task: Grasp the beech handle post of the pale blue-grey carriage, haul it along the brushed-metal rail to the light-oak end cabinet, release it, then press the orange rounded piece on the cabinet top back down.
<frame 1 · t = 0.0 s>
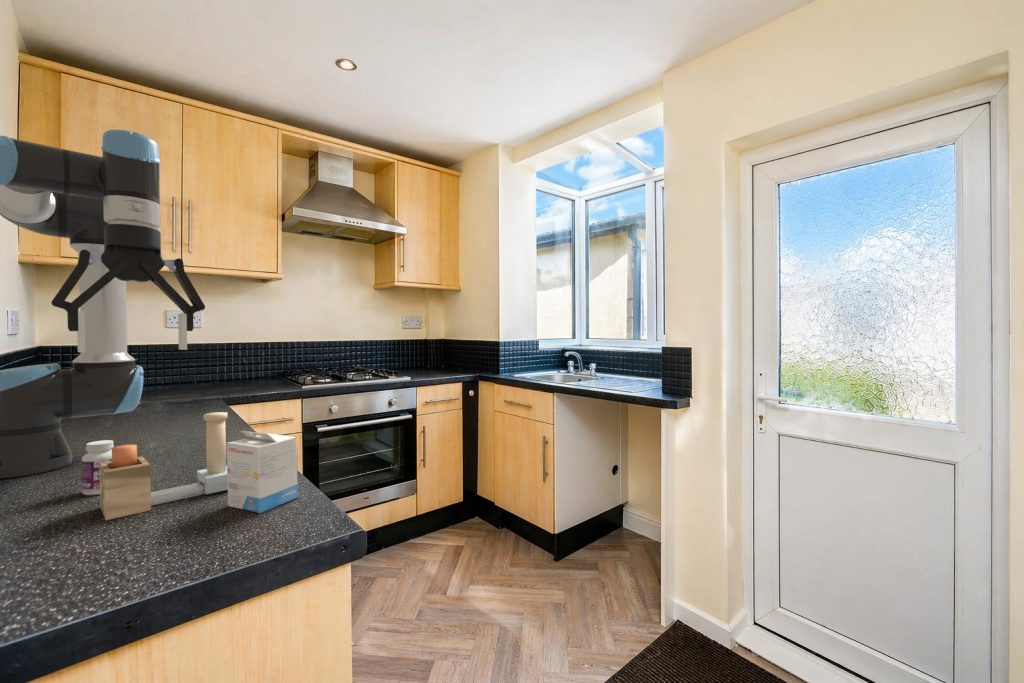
hand: (135, 350, 80), 28 cm above the counter, fingers open, 13 cm apart
orange rounded piece: (124, 456, 81), point 9 cm above the counter, slide at 0.0 cm
carriage: (216, 450, 92), point 8 cm above the counter, slide at 0.0 cm
rail: (192, 494, 89), on the counter
pill bottle: (100, 492, 91), on the counter
cabinet: (125, 508, 82), on the counter
ink box: (263, 503, 85), on the counter
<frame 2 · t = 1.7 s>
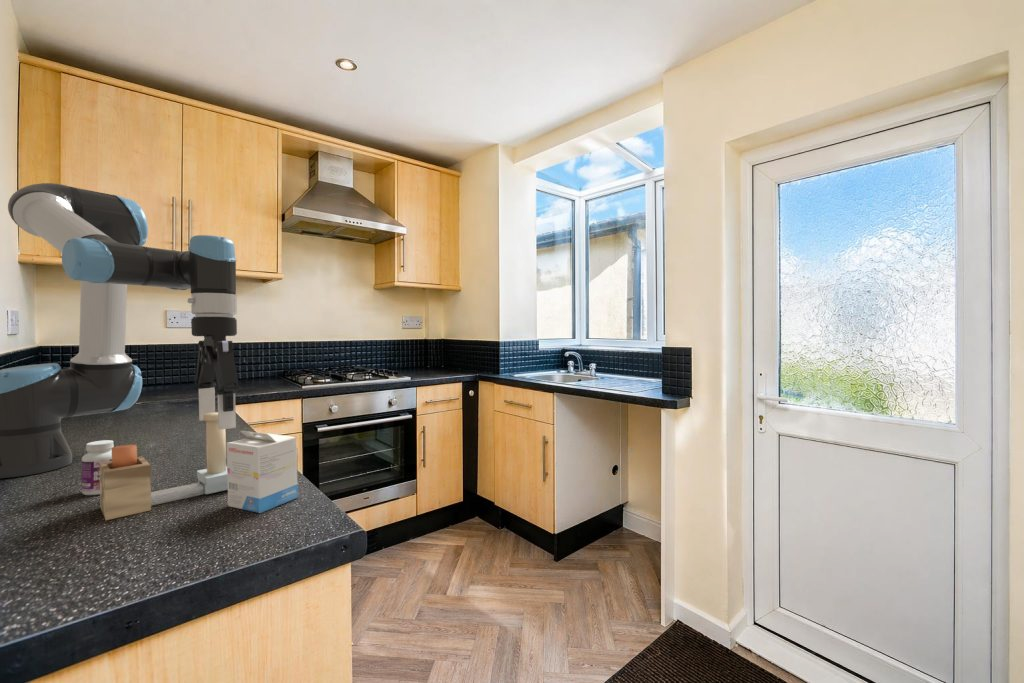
hand: (216, 424, 91), 13 cm above the counter, fingers open, 13 cm apart
nothing on the counter moved.
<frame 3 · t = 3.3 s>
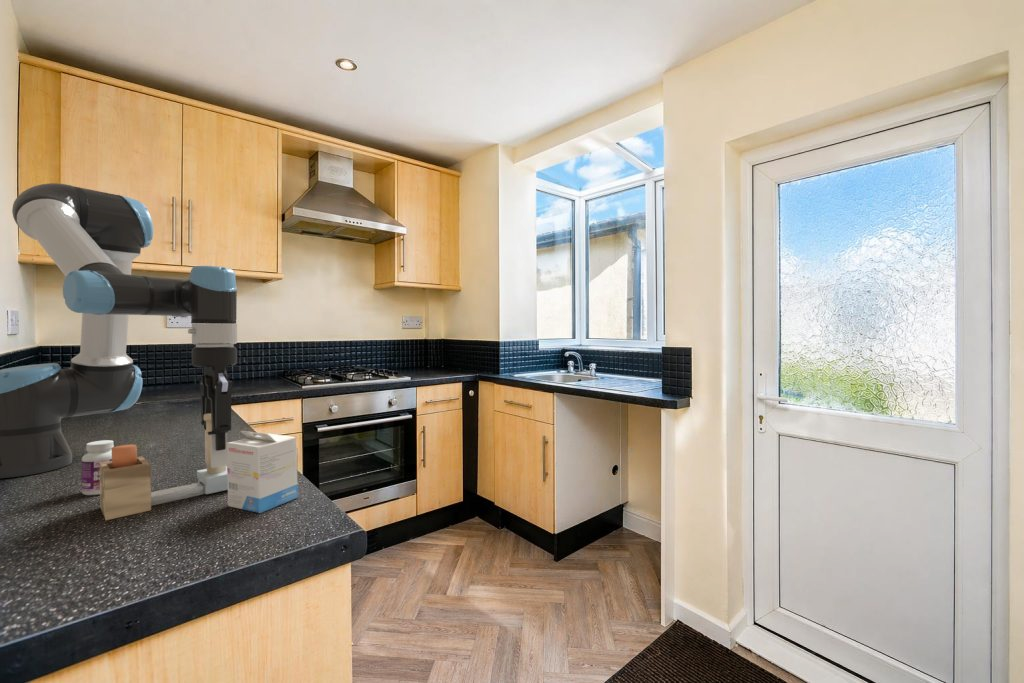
hand: (216, 463, 92), 5 cm above the counter, fingers closed on carriage, 3 cm apart
carriage: (216, 450, 92), point 8 cm above the counter, slide at 0.0 cm, touching gripper
everything else where it was.
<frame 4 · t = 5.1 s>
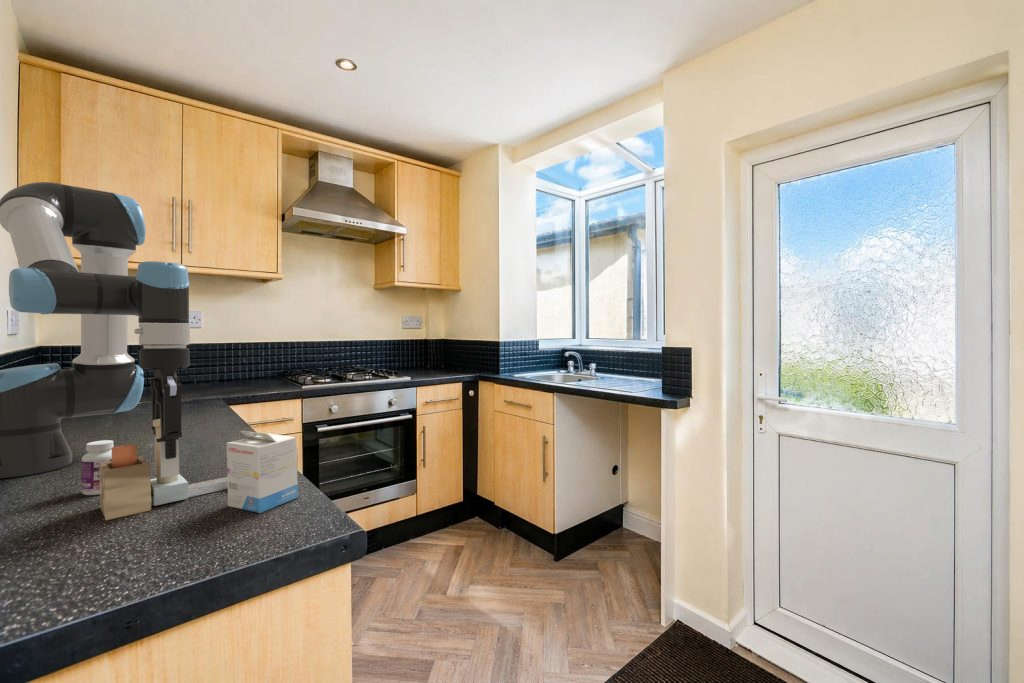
hand: (167, 472, 86), 5 cm above the counter, fingers open, 4 cm apart
carriage: (167, 458, 86), point 8 cm above the counter, slide at 7.9 cm
everything else where it was.
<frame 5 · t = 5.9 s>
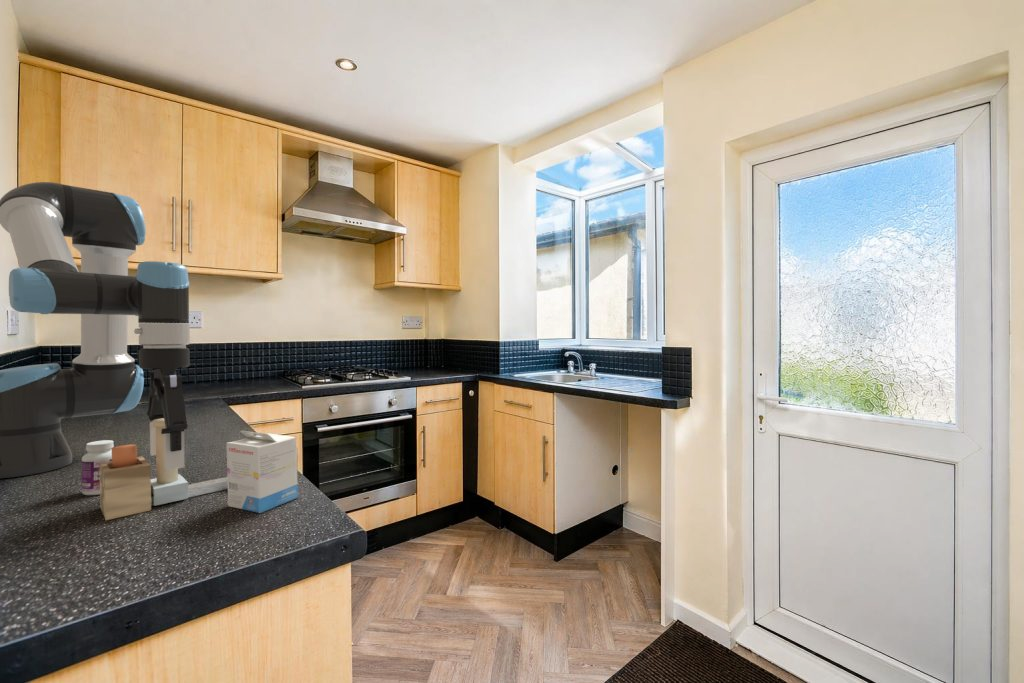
hand: (166, 461, 86), 7 cm above the counter, fingers open, 13 cm apart
nothing on the counter moved.
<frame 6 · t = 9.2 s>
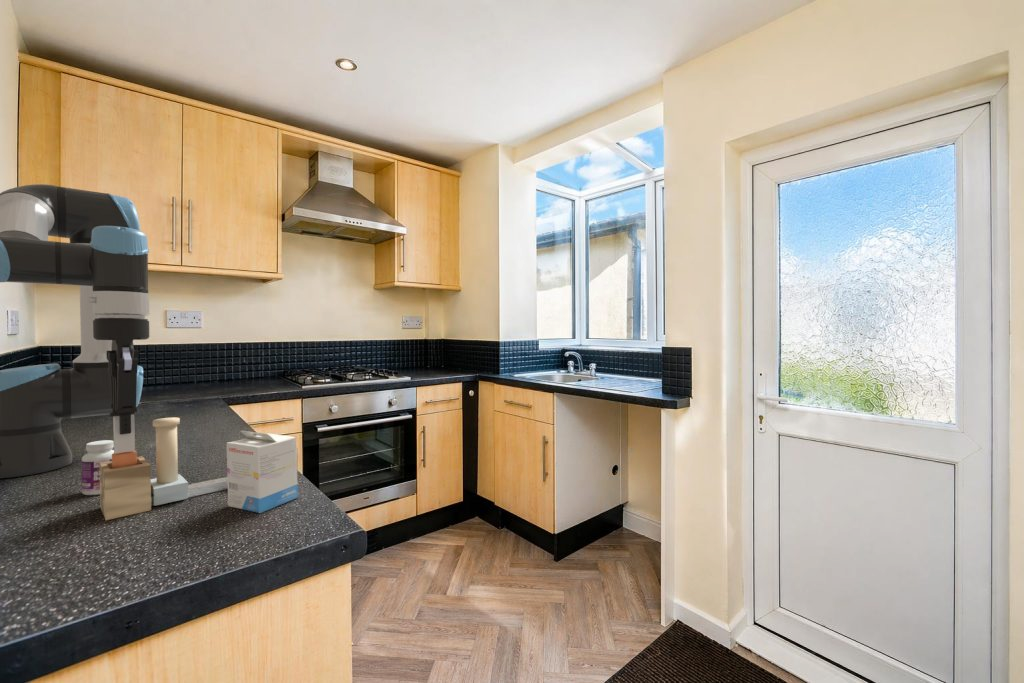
hand: (124, 451, 81), 10 cm above the counter, fingers closed
orange rounded piece: (124, 462, 81), point 8 cm above the counter, slide at -1.0 cm, touching gripper
everything else where it was.
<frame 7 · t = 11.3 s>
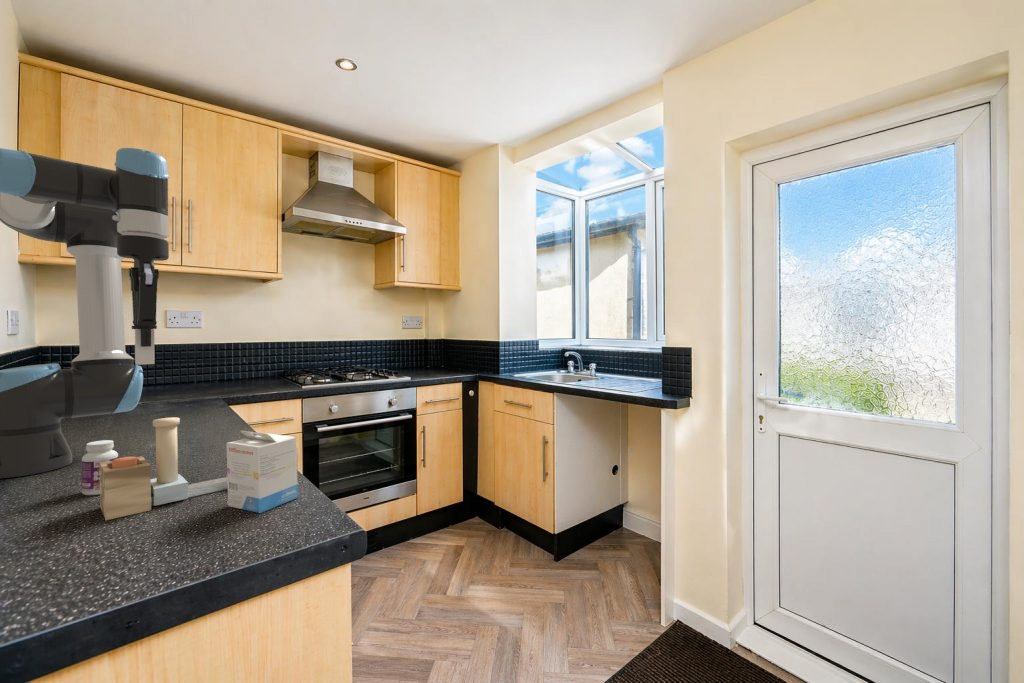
hand: (144, 363, 87), 25 cm above the counter, fingers closed
orange rounded piece: (124, 469, 82), point 7 cm above the counter, slide at -2.2 cm
everything else where it was.
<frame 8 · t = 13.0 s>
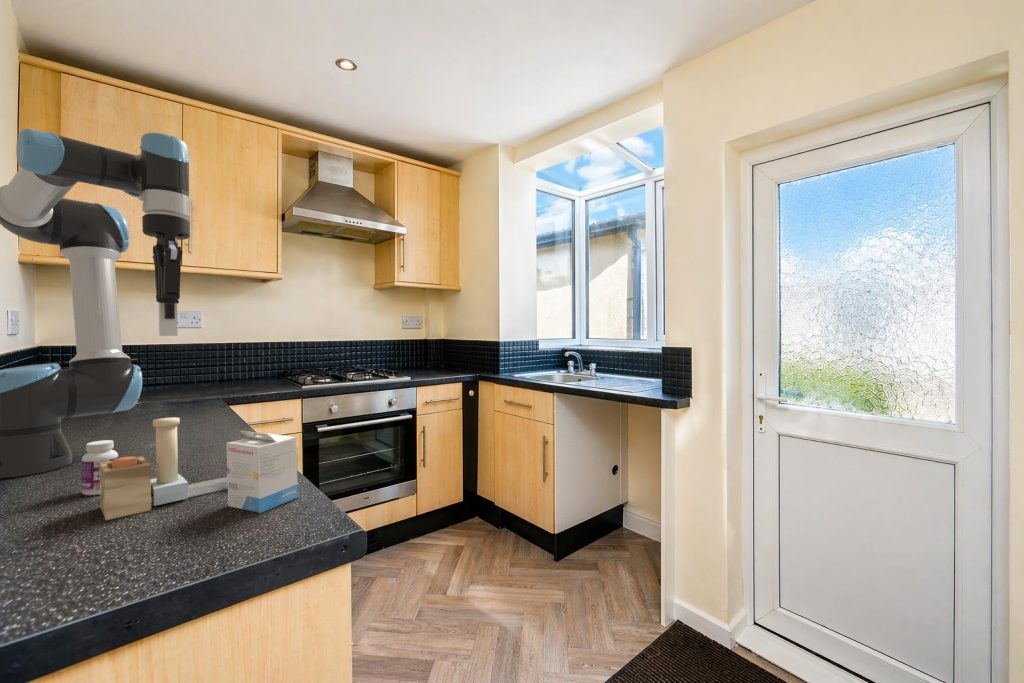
hand: (168, 335, 92), 30 cm above the counter, fingers closed
nothing on the counter moved.
at the end: carriage slide at 7.9 cm; orange rounded piece slide at -2.2 cm; the gripper is holding nothing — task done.
